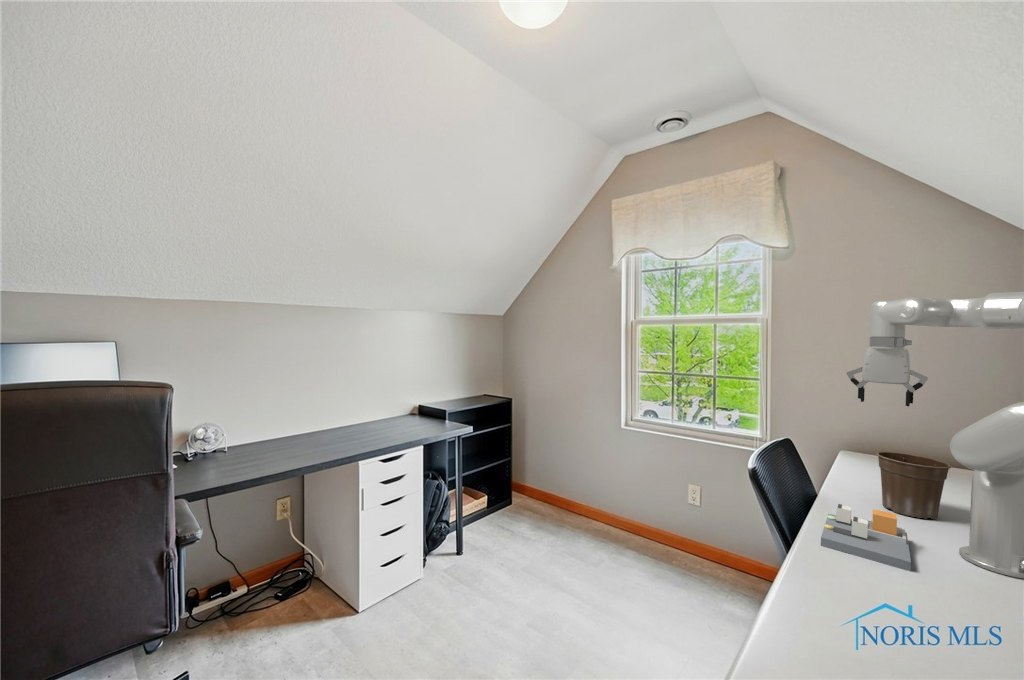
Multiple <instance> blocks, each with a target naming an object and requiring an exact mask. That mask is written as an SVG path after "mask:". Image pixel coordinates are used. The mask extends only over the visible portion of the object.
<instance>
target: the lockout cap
mask: <svg viewBox="0 0 1024 680" xmlns="http://www.w3.org/2000/svg"><path fill="white" fill-rule="evenodd" d="M871 517H872V518H871V519H872V520H871V521H872V530H874V531H878V532H882V533H886V534H890V535H894V536H896V535H897V527H898V516H897V513H895V512H894V513H893V512H888V511H884V510H880V509H875V508H872V516H871Z"/></svg>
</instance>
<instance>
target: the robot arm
mask: <svg viewBox="0 0 1024 680" xmlns="http://www.w3.org/2000/svg"><path fill="white" fill-rule="evenodd" d="M869 317H870V318H869V320H870V321H869V323H870V324H869V342H868V343H869V344H868V347H866V348H865V349H864V355H863V360H862V361H863V362H862V366H861V367H858V368H855V369H852V370H849V371H847V372H846V376H847V378H848V379H849V380H850V382H851V383H852V384H854V385H855V386H856V387H857V399H860V403H861V402H862V403H864V402H865V385H866V384H868V383H875V384H876V383H877V384H888V385H903V387H905V388H906V391H905V406H906V407H910V405H911V404H913V403H914V392H916V391H917V390H919V389H921V388H922V387H923V386H924V385H925V384H926V382H927V381H928V379H929V377H928V376H927V375H924V374H921V373H919V372H917V371H915V370H913V369H911V361H910V353H909V349H906V347H907V346H912V344H913V340H910V339H907V338H906V325H907V326H916V327H917V326H918V327H921V326H922V327H934V328H936V327H939V328H940V327H941V328H949V327H950V328H982V329H983V328H984V329H987V330H989V329H990V330H992V329H993V330H995V329H996V330H1024V291H1006V292H1005V291H1004V292H1002V291H1001V292H1000V291H999V292H991V293H987V295H985V296H982V297H972V298H949V299H948V298H931V297H930V298H929V297H918V296H916V297H915V296H913V297H912V296H911V297H905V298H901V299H889V300H887V299H885V300H876V301H874V302H872V303H871V305H870V315H869ZM860 373H861V374H862V376H861V377H862V380H861V381H858V379H856V377H855V375H856V374H860ZM911 376H913V377H914V378H917V379H919V380H918V381H917V382H916V383H914V385H911V384H910V381H911V380H910V379H911ZM949 450H950V453H951V456H952V457H953V459H954V460H955V461H956V462H957V463H959V464H960V465H961V466H963V467H965V468H967V469H969V470H972V471H973V474H972V477H971V478H972V479H971V492H970V510H969V511H970V513H969V518H970V519H969V535H968V536H969V539H968V546H967V545H966V546H961V547H960V548H959V552H958V553H959V556H960V557H961V558H964V560H965V561H967V562H969V563H972V565H975V566H978V567H980V568H983V569H986V570H988V571H991V572H994V573H998V574H1000V575H1004V576H1005V575H1006V576H1008V577H1013V578H1018V579H1023V580H1024V401H1019V402H1016V403H1013V404H1012V403H1011V404H1010V405H1007V406H1005V407H1003V408H1001V409H999V410H997V411H995V412H993V413H991V414H988V415H987V416H985V417H983V418H981V419H980V420H978V421H976V422H974V423H972V424H970V425H968V426H966V427H964V428H963V429H960V430H959V431H958V432H957V433H955V435H953V437H952V438H951V440H950V443H949Z"/></svg>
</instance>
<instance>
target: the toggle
mask: <svg viewBox="0 0 1024 680" xmlns="http://www.w3.org/2000/svg"><path fill="white" fill-rule="evenodd" d="M835 511H836V513H835V515H836V520H837V521H841V522H845V523H849V524H850V523H851V519H852V507H851V506H846V505H843V504H842V503H841V504H840V503H838V504H837V505H836V510H835Z"/></svg>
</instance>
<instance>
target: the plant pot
mask: <svg viewBox="0 0 1024 680" xmlns="http://www.w3.org/2000/svg"><path fill="white" fill-rule="evenodd" d="M876 456H877V459H878V467H879V470H880V481H881V483H880V484H881V497H882V498H881V500H882V501H881V502H882V506H883V507H884V508H885V507H886V509H887V508H888V509H887V510H891V511H892V512H894V513H895V514H899V513H900V514H899V515H902V514H903V516H905V515H906V516H905V517H909V516H911V517H910V518H913V517H917V518H916V519H920V518H924V519H923V520H927V519H929V518H931V519H930V520H932V519H933V520H936V519H935V518H937V519H938V518H939V517H938V516H939V511H940V505H941V499H942V495H943V490H944V486H945V481H946V480H947V478H948V473H949V470H950V469H951V468H952V465H951V464H950V463H947V462H944V461H942V460H939V459H936V458H931V457H926V456H922V455H916V454H911V453H906V452H905V453H904V452H896V451H877V452H876Z"/></svg>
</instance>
